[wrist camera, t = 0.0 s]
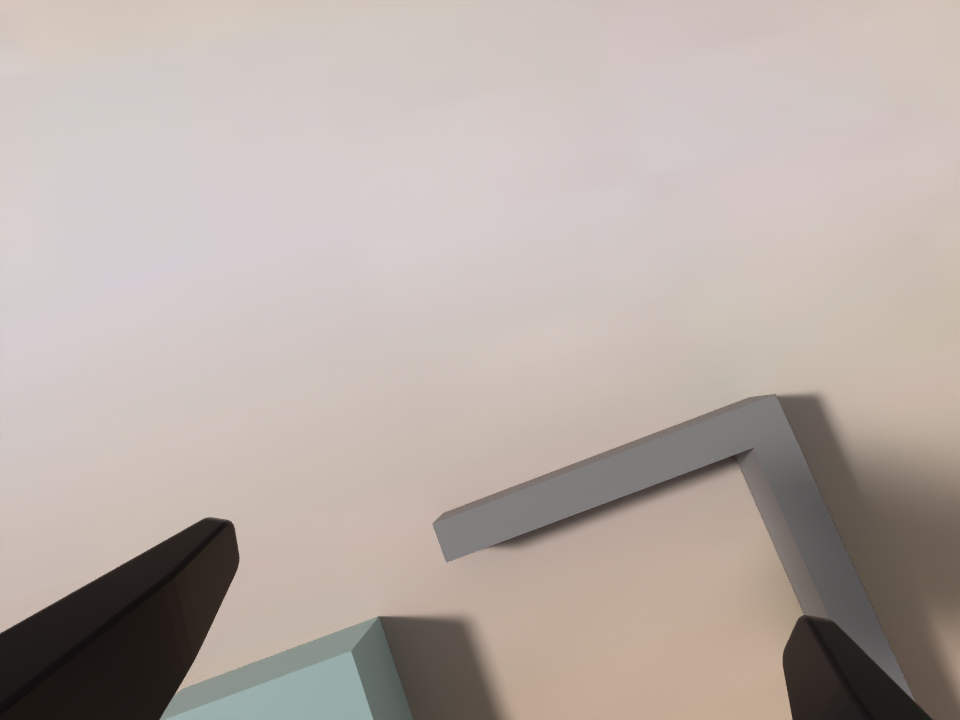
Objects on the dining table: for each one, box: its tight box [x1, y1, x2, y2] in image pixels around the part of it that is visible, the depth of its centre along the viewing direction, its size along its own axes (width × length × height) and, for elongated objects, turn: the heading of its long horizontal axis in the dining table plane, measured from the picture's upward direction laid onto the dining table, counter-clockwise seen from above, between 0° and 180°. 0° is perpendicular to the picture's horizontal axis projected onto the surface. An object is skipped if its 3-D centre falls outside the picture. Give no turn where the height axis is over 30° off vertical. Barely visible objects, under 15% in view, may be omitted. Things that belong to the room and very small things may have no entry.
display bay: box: [433, 394, 916, 702], centre depth 21 cm, size 17×14×2 cm
